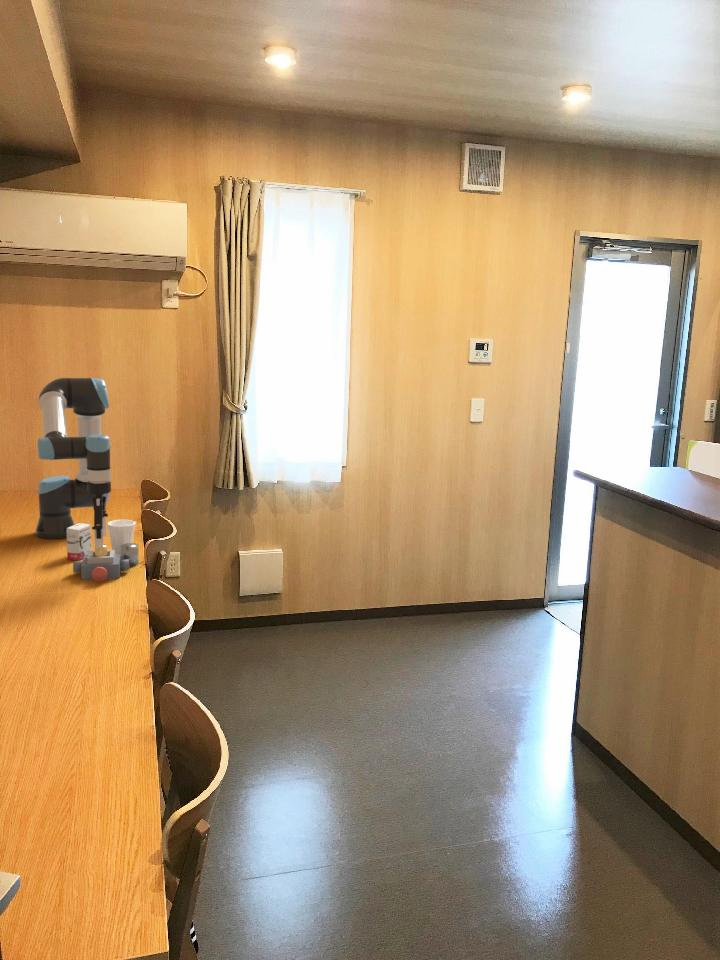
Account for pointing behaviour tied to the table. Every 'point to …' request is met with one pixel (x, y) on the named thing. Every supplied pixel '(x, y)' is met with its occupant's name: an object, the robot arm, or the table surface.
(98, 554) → the brass cylinder
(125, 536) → the cup
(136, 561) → the steel nipple large
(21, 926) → the table surface
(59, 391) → the robot arm
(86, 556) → the valve body
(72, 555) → the ink box
